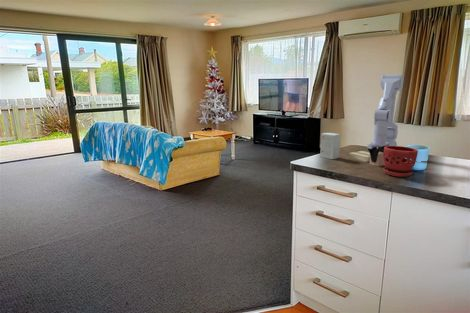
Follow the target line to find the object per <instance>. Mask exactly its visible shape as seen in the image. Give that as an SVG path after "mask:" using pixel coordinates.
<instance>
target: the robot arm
mask: <svg viewBox="0 0 470 313" xmlns="http://www.w3.org/2000/svg"><path fill="white" fill-rule="evenodd" d="M403 82H404V75H403V74H382V75H381V78H380V86H381V89H382V91H383V95H382V97H381V98H380V99H379V101H378V106H377V109H376V110H375V112H374V118H373V119H374V120H373V121H374V122H373V123H374V130H373V140H372V141H370V142H371V143H368V144H367V150H368V151H367V152H369V153H370V156H371V162H374V163H376V161H377V156H378V153H379V152H383V153H384V147H385V146H398V144H397V141H396V139H397V137H398V131H399V130H398V129H399V128H398V125H397V124H396V123H395V122H394V115H395V107H396V98H397V93H398V92H399V91H400V92H401V91H402V88H403Z"/></svg>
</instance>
